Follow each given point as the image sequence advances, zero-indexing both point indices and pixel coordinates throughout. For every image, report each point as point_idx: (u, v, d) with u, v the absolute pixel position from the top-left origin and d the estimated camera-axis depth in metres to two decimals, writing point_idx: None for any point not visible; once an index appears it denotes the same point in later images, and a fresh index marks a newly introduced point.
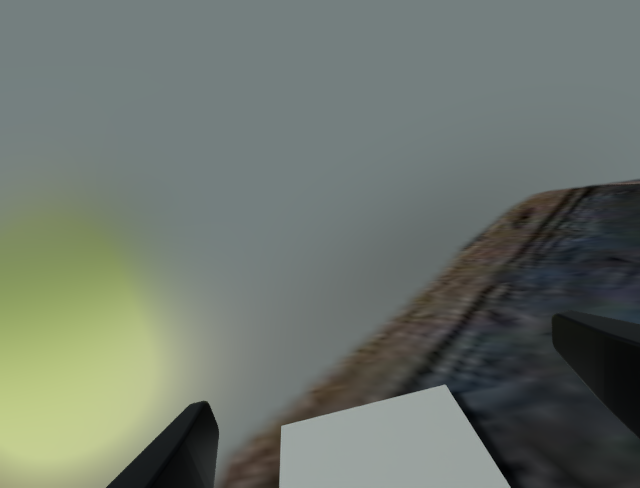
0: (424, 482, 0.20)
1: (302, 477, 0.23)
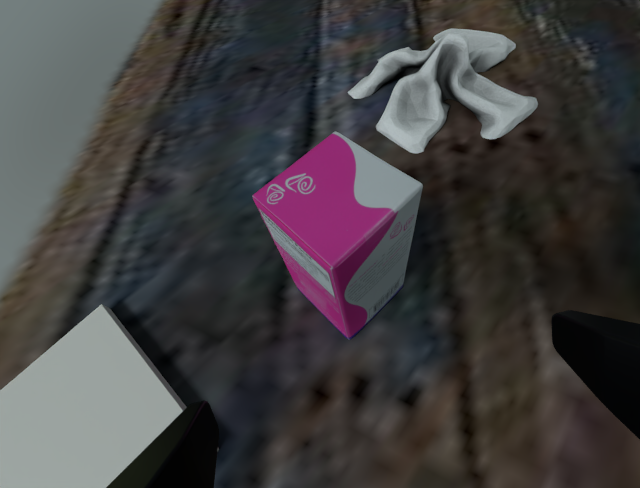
0: (90, 426, 0.21)
1: None
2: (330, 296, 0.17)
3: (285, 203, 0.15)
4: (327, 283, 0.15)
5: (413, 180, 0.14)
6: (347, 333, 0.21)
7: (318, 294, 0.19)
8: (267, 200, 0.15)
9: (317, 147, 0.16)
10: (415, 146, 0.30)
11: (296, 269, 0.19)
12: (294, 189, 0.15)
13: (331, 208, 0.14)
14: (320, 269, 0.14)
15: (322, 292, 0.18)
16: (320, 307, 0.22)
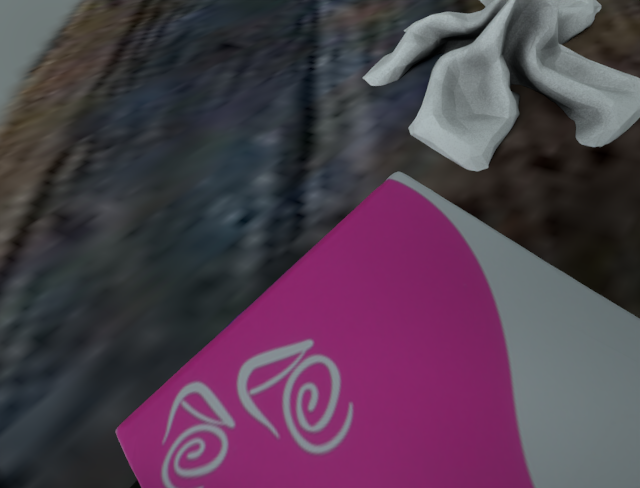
0: None
1: None
2: None
3: None
4: None
5: None
6: None
7: None
8: (162, 468, 0.04)
9: (347, 228, 0.05)
10: (475, 160, 0.19)
11: None
12: (271, 422, 0.04)
13: None
14: None
15: None
16: None
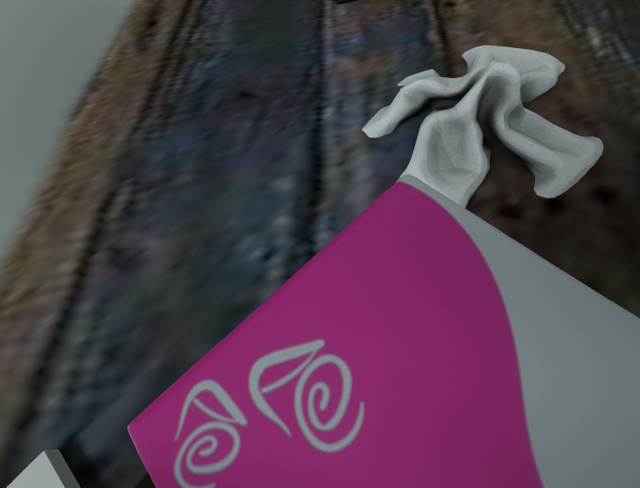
0: None
1: None
2: None
3: None
4: None
5: None
6: None
7: None
8: (175, 464, 0.04)
9: (357, 230, 0.05)
10: None
11: None
12: (282, 419, 0.04)
13: None
14: None
15: None
16: None
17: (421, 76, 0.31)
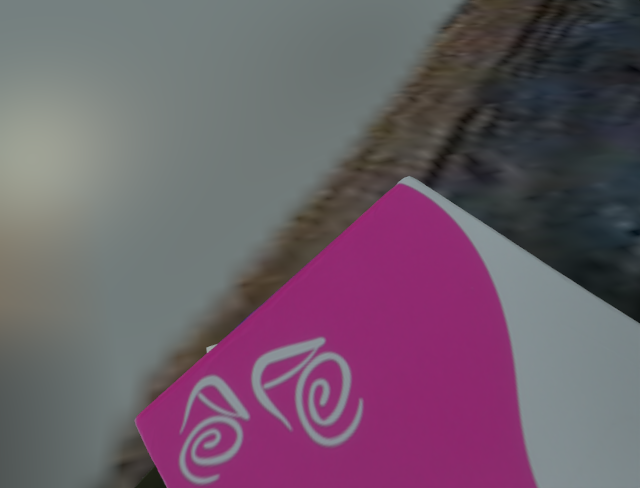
0: None
1: None
2: None
3: None
4: None
5: None
6: None
7: None
8: (180, 455, 0.04)
9: (358, 230, 0.05)
10: None
11: None
12: (284, 414, 0.04)
13: None
14: None
15: None
16: None
17: None
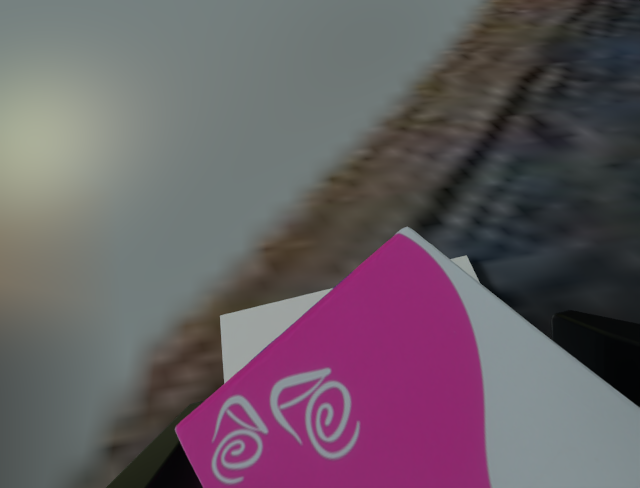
0: None
1: None
2: None
3: None
4: None
5: None
6: None
7: None
8: (212, 460, 0.05)
9: (361, 275, 0.06)
10: None
11: None
12: (295, 431, 0.05)
13: None
14: None
15: None
16: None
17: None
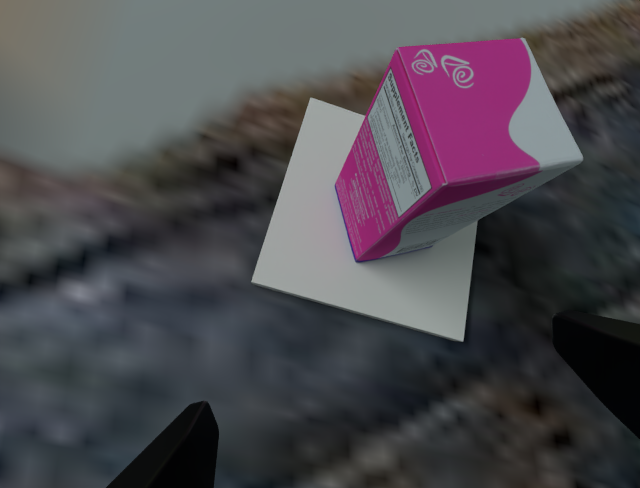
0: None
1: (315, 159, 0.23)
2: (391, 212, 0.15)
3: (430, 81, 0.11)
4: (408, 197, 0.13)
5: (577, 149, 0.12)
6: (361, 256, 0.20)
7: (369, 203, 0.17)
8: (412, 63, 0.12)
9: (496, 42, 0.12)
10: None
11: (364, 165, 0.16)
12: (448, 72, 0.12)
13: (477, 121, 0.11)
14: (420, 178, 0.12)
15: (381, 204, 0.15)
16: (351, 217, 0.20)
17: None
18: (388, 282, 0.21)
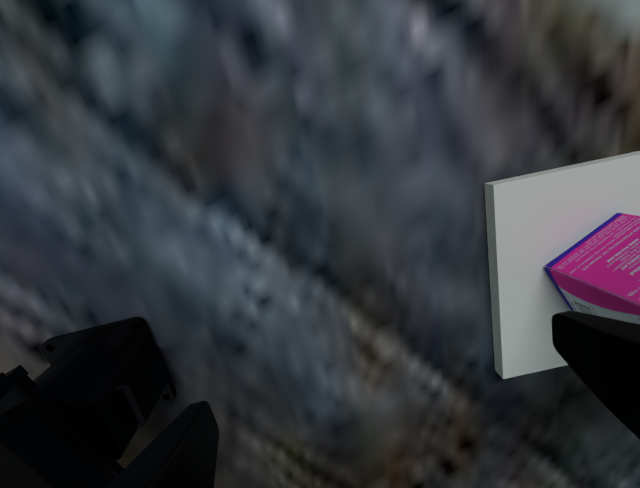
0: None
1: (639, 180, 0.20)
2: None
3: None
4: None
5: None
6: (562, 274, 0.20)
7: None
8: None
9: None
10: None
11: None
12: None
13: None
14: None
15: None
16: (602, 249, 0.19)
17: None
18: (533, 301, 0.22)
